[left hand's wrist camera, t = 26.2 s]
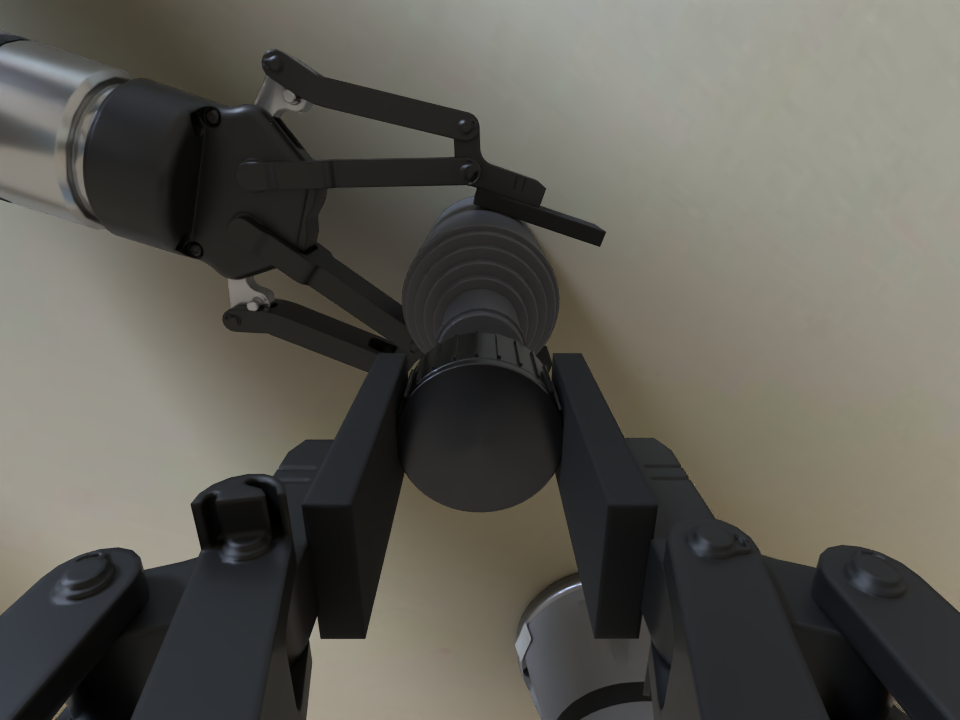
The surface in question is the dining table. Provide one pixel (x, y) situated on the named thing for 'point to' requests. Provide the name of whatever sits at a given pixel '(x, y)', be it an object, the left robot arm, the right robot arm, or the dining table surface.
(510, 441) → the cap
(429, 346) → the bottle
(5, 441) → the dining table surface
